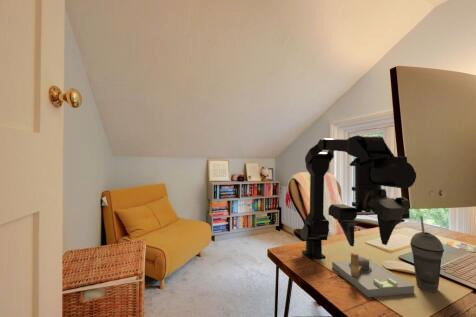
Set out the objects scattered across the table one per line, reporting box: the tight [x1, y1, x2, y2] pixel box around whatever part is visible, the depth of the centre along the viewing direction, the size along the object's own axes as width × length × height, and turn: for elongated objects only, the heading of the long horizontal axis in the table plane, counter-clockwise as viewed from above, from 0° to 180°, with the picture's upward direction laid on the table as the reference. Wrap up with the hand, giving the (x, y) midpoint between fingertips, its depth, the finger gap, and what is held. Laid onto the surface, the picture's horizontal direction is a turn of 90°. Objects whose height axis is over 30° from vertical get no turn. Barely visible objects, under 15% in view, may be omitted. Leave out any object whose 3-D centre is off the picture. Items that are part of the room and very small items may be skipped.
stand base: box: [331, 258, 415, 298], centre depth 64 cm, size 16×14×3 cm
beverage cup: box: [409, 216, 445, 293], centre depth 60 cm, size 7×7×20 cm
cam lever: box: [350, 252, 369, 277], centre depth 65 cm, size 10×5×6 cm, turn 138°
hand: (368, 245), depth 53 cm, fingers open, 9 cm apart
